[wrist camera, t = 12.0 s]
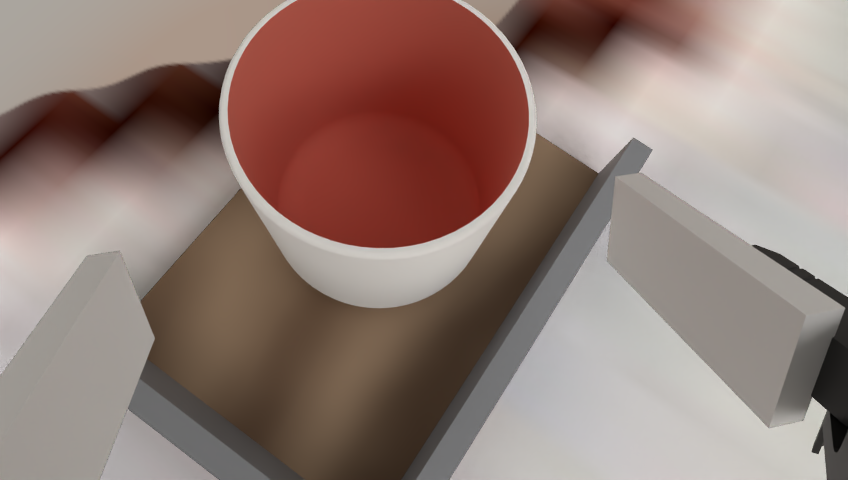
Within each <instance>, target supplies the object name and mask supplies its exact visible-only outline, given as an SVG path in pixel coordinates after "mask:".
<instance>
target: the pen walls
mask: <svg viewBox="0 0 848 480" xmlns="http://www.w3.org/2000/svg"><path fill="white" fill-rule="evenodd" d="M651 152H652V149H651V148H649V147H647V146H646V145H644V144H643V143H641V142H640V141H638V140H637V139H635V138H633V139H632V140H631V141H630V142H629V143H628V144H627V145H626V146H625V147H624V148H623V149H622V150H621V151H620V152H619V153H618V154H617V155H616V156H615V157H614V158H613V159H612V160H611V161H610V162H609V163H608V164H607V165H606V166H605V167H604V169H603V170H602V171H601V172H600V173H599V174H598V175H597V177H596V178H595V180H594V181H593V183H592V185H591V186H590V188H589V189H588V191H587V192H586V194H585V195H584V197H583V199H582V200H581V202H580V203H579V205H578V206H577V208H576V209H575V211H574V212H573V214H572V216H571V217H570V219H569V220H568V222H567V223H566V225H565V226H564V228H563V230H562V231H561V233H560V234H559V236H558V237H557V239H556V240H555V242H554V244H553V245H552V247H551V248H550V250H549V251H548V253H547V254H546V256H545V257H544V259H543V261H542V262H541V264H540V265H539V267H538V268H537V270H536V271H535V273H534V275H533V276H532V278H531V279H530V281H529V282H528V284H527V285H526V287H525V289H524V290H523V292H522V293H521V295H520V296H519V298H518V299H517V301H516V302H515V304H514V306H513V307H512V309H511V310H510V312H509V313H508V315H507V316H506V318H505V320H504V321H503V323H502V324H501V326H500V327H499V329H498V330H497V332H496V334H495V335H494V337H493V338H492V340H491V341H490V343H489V344H488V346H487V347H486V349H485V351H484V352H483V354H482V355H481V357H480V358H479V360H478V361H477V363H476V365H475V366H474V368H473V369H472V371H471V372H470V374H469V375H468V377H467V379H466V380H465V382H464V383H463V385H462V386H461V388H460V389H459V391H458V392H457V394H456V396H455V397H454V399H453V400H452V402H451V403H450V405H449V406H448V408H447V410H446V411H445V413H444V414H443V416H442V417H441V419H440V420H439V422H438V424H437V425H436V427H435V428H434V430H433V431H432V433H431V434H430V436H429V437H428V439H427V441H426V442H425V444H424V445H423V447H422V448H421V450H420V451H419V453H418V455H417V456H416V458H415V459H414V461H413V462H412V464H411V465H410V467H409V469H408V470H407V472H406V473H405V475H404V476H403V478H402V479H401V480H449V479H450V478H451V476H452V475H453V473H454V471H455V470H456V468H457V467H458V465H459V463H460V462H461V460H462V458H463V457H464V455H465V454H466V452H467V450H468V449H469V447H470V445H471V444H472V442H473V441H474V439H475V437H476V436H477V434H478V432H479V431H480V429H481V428H482V426H483V424H484V423H485V421H486V419H487V418H488V416H489V415H490V413H491V411H492V410H493V408H494V406H495V405H496V403H497V402H498V400H499V398H500V397H501V395H502V393H503V392H504V390H505V389H506V387H507V385H508V384H509V382H510V381H511V379H512V377H513V376H514V374H515V372H516V371H517V369H518V368H519V366H520V364H521V363H522V361H523V359H524V358H525V356H526V355H527V353H528V351H529V350H530V348H531V346H532V345H533V343H534V342H535V340H536V338H537V337H538V335H539V333H540V332H541V330H542V329H543V327H544V325H545V324H546V322H547V320H548V319H549V317H550V316H551V314H552V312H553V311H554V309H555V308H556V306H557V304H558V303H559V301H560V299H561V298H562V296H563V295H564V293H565V291H566V290H567V288H568V286H569V285H570V283H571V282H572V280H573V278H574V277H575V275H576V273H577V272H578V270H579V269H580V267H581V265H582V264H583V262H584V260H585V259H586V257H587V256H588V254H589V252H590V251H591V249H592V247H593V246H594V244H595V243H596V241H597V239H598V238H599V236H600V235H601V233H602V231H603V230H604V228H605V226H606V225H607V223H608V222H609V220H610V218H611V214H612V205H613V195H614V185H615V176H622V175H628V174H635V173H639V171H640V170H641V168H642V166H643V165H644V163H645V162H646V160H647V158H648V157H649V155H650V153H651ZM128 409H129V410H130V411H131V412H133V413H134V414H135V415H136V416H138V417H139V418H140V419H142V420H143V421H144V422H145V423H147V424H148V425H149V426H151V427H152V428H153V429H154V430H156V431H157V432H158V433H160V434H161V435H162V436H163V437H165V438H166V439H167V440H169V441H170V442H171V443H172V444H174V445H175V446H176V447H178V448H179V449H180V450H181V451H183V452H184V453H185V454H187V455H188V456H189V457H190V458H192V459H193V460H194V461H196V462H197V463H198V464H199V465H201V466H202V467H203V468H205V469H206V470H207V471H208V472H210V473H211V474H212V475H214V476H215V477H216V478H217V479H219V480H305V479H304V478H302V477H301V476H300V475H298V474H297V473H296V472H294V471H293V470H292V469H291V468H289V467H288V466H287V465H285V464H284V463H283V462H281V461H280V460H279V459H277V458H276V457H275V456H274V455H272V454H271V453H270V452H268V451H267V450H266V449H264V448H263V447H262V446H260V445H259V444H258V443H256V442H255V441H254V440H253V439H251V438H250V437H249V436H247V435H246V434H245V433H243V432H242V431H241V430H239V429H238V428H237V427H236V426H234V425H233V424H232V423H230V422H229V421H228V420H226V419H225V418H224V417H222V416H221V415H220V414H218V413H217V412H216V411H215V410H213V409H212V408H211V407H209V406H208V405H207V404H205V403H204V402H203V401H201V400H200V399H199V398H197V397H196V396H195V395H194V394H192V393H191V392H190V391H188V390H187V389H186V388H184V387H183V386H182V385H180V384H179V383H178V382H177V381H175V380H174V379H173V378H171V377H170V376H169V375H167V374H166V373H165V372H163V371H162V370H161V369H159V368H158V367H157V366H156V365H154V364H153V363H152V362H150V361H149V360H148V359H147V360H146V363H145V365H144V368H143V370H142V373H141V375H140V378H139V380H138V383H137V386H136V388H135V391H134V393H133V396H132V398H131V401H130V403H129V406H128Z"/></svg>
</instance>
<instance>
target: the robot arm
mask: <svg viewBox="0 0 848 480" xmlns="http://www.w3.org/2000/svg"><path fill="white" fill-rule="evenodd" d="M607 262H608V263H609V264H610V265H611V266H612V267H613V268H614V269H615V270H616V271H617V272H618V273H619V274H620V275H621V276H622V277H623V278H624V279H625V280H626V281H627V282H628V283H629V284H630V285H631V287H632V288H633V289H634V290H635V291H636V292H637V293H638V294H639V295H640V296H641V297H642V298H643V299H644V300H645V301H646V302H647V303H648V304H649V305H650V306H651V307H652V308H653V309H654V310H655V311H656V312H657V313H658V314H659V315H660V316H661V317H662V318H663V319H664V321H665V322H666V323H667V324H668V325H669V326H670V327H671V328H672V329H673V330H674V331H675V332H676V333H677V334H678V335H679V336H680V337H681V338H682V339H683V340H684V341H685V342H686V343H687V344H688V345H689V346H690V347H691V348H692V349H693V350H694V351H695V352H696V354H697V355H698V356H699V357H700V358H701V359H702V360H703V361H704V362H705V363H706V364H707V365H708V366H709V367H710V368H711V369H712V370H713V371H714V372H715V373H716V374H717V375H718V376H719V377H720V378H721V379H722V380H723V381H724V382H725V383H726V384H727V385H728V387H729V388H730V389H731V390H732V391H733V392H734V393H735V394H736V395H737V396H738V397H739V398H740V399H741V400H742V401H743V402H744V403H745V404H746V405H747V406H748V407H749V408H750V409H751V410H752V411H753V412H754V413H755V414H756V415H757V416H758V417H759V418H760V419H761V421H762V422H763V423H764V424H765V425H766V426H767V427H768V428H772V427H776V426H781V425H785V424H790V423H794V422H799V421H803V420H804V418H805V415H806V412H807V410H808V407H809V404H810V401H811V399H812V397H813V398H814V399H815V400H816V401H817V402H819V403H820V404H821V405H822V406H823V407H824V408H825V409H827V412H826V415H825V417H824V420H823V422H822V425H821V427H820V430H819V432H818V435H817V437H816V440H815V442H814V445H813V449H812V452H813V453H816V454H819V451H820V449H821V446H824V450H825V462H826V474H827V480H848V297H846V296H845V295H843V294H842V293H840V292H839V291H837V290H835V289H834V288H832V287H831V286H829V285H828V284H826V283H824V282H823V281H821V280H820V279H815V276H814V275H812V274H810V273H809V272H807V271H806V270H804V269H799V266H798V265H796V264H795V263H793V262H792V261H790V260H788V259H787V258H785V257H784V256H782V255H781V254H778V253H776V252H773V251H771V250H768V249H765V248H763V247H760V246H757V245H752V246H751V245H750V244H748V243H747V242H745V241H744V240H742V239H741V238H739V237H738V236H736V235H734V234H733V233H731V232H730V231H728V230H727V229H725V228H724V227H722V226H721V225H719V224H718V223H716V222H715V221H713V220H712V219H710V218H709V217H707V216H706V215H704V214H703V213H701V212H700V211H698V210H697V209H695V208H694V207H692V206H691V205H689V204H688V203H686V202H685V201H683V200H682V199H680V198H679V197H677V196H676V195H674V194H673V193H671V192H669V191H668V190H666V189H665V188H663V187H662V186H660V185H659V184H657V183H656V182H654V181H653V180H651V179H650V178H648V177H647V176H645V175H644V174H642V173H635V174H628V175H622V176H615V185H614V195H613V205H612V214H611V224H610V233H609V243H608V253H607ZM154 340H155V337H154V335H153V332H152V330H151V327H150V325H149V322H148V320H147V317H146V315H145V312H144V310H143V307H142V305H141V302H140V300H139V297H138V295H137V292H136V290H135V287H134V285H133V282H132V280H131V277H130V275H129V272H128V270H127V267H126V265H125V262H124V260H123V257H122V255H121V252H120V251H115V252H109V253H102V254H95V255H89V256H86V258H85V259H84V261H83V262H82V263H81V265H80V266H79V268H78V269H77V270H76V272H75V273H74V274H73V276H72V277H71V279H70V280H69V281H68V283H67V284H66V286H65V287H64V288H63V290H62V291H61V293H60V294H59V295H58V297H57V298H56V299H55V301H54V302H53V304H52V305H51V306H50V308H49V309H48V311H47V312H46V313H45V315H44V316H43V317H42V319H41V320H40V322H39V323H38V324H37V326H36V327H35V329H34V330H33V331H32V333H31V334H30V336H29V337H28V338H27V340H26V341H25V342H24V344H23V345H22V347H21V348H20V349H19V351H18V352H17V354H16V355H15V356H14V358H13V359H12V361H11V362H10V363H9V365H8V366H7V367H6V369H5V370H4V372H3V373H2V374H1V376H0V480H100V478H101V475H102V473H103V470H104V467H105V465H106V462H107V460H108V457H109V455H110V452H111V450H112V447H113V444H114V442H115V439H116V437H117V434H118V432H119V429H120V427H121V424H122V421H123V419H124V416H125V414H126V411H127V409H128V406H129V403H130V401H131V398H132V396H133V393H134V391H135V388H136V386H137V383H138V380H139V378H140V375H141V373H142V370H143V368H144V365H145V363H146V360H147V357H148V355H149V352H150V350H151V347H152V345H153V342H154Z"/></svg>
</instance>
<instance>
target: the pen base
mask: <svg viewBox="0 0 848 480" xmlns="http://www.w3.org/2000/svg"><path fill="white" fill-rule="evenodd" d="M597 175H598V173H597V172H595V171H594V170H592V169H591V168H589V167H588V166H586V165H585V164H583V163H582V162H580V161H578V160H577V159H575V158H574V157H572V156H571V155H569V154H568V153H566V152H565V151H563V150H562V149H560V148H559V147H557V146H555V145H554V144H552V143H551V142H549V141H548V140H546V139H545V138H543V137H542V136H540V135H539V134H537V133H536V140H535V145H534V150H533V154H532V157H531V161H530V164H529V167H528V169H527V172H526V174H525V176H524V178H523V180H522V182H521V184H520V186H519V187H518V189H517V191H516V192H515V194H514V195H513V197H512V198H511V200H510V201H509V203H508V204H507V206H506V207H505V209H504V210H503V212H502V213H501V215H500V216H499V218H498V219H497V221H496V222H495V224H494V225H493V227H492V228H491V230H490V231H489V233H488V234H487V236H486V237H485V239H484V240H483V242H482V243H481V245H480V247H479V248H478V250H477V251H476V253H475V254H474V256H473V257H472V259H471V260H470V261H469V263H468V264H467V266H466V267H465V268H464V269H463V271H462V272H461V273H460V274H459V275H458V276H457V277H456V278H455V279H454V280H453V281H452V282H451V283H449V284H448V285H447V286H445V287H444V288H443V289H441V290H440V291H438V292H436V293H435V294H433V295H431V296H429V297H427V298H425V299H422V300H420V301H417V302H415V303H411V304H408V305H404V306H399V307H392V308H366V307H359V306H354V305H350V304H346V303H343V302H341V301H338V300H335V299H333V298H331V297H329V296H327V295H325V294H323V293H321V292H320V291H318V290H317V289H315V288H313V287H312V286H311V285H310V284H308V283H307V282H306V281H305V280H303V279H302V278H301V277H300V276H299V275H298V274H297V272H296V271H295V270H294V269H293V268H292V267H291V265H290V264H289V263H288V261H287V260H286V258H285V257H284V255H283V254H282V252H281V250H280V249H279V247H278V246H277V244H276V242H275V241H274V239H273V238H272V236H271V234H270V233H269V231H268V230H267V228H266V227H265V225H264V223H263V222H262V220H261V219H260V217H259V215H258V214H257V212H256V211H255V209H254V207H253V206H252V204H251V203H250V201H249V199H248V198H247V196H246V195H245V193H244V191H243V190H242V188H241V189H240V190H239V191H238V192H237V193H236V195H235V196H234V197H233V198H232V199H231V200H230V201H229V202H228V204H227V205H226V206H225V207H224V208H223V209H222V210H221V211H220V213H219V214H218V215H217V216H216V217H215V218H214V219H213V220H212V222H211V223H210V224H209V225H208V226H207V227H206V228H205V229H204V231H203V232H202V233H201V234H200V235H199V236H198V237H197V238H196V239H195V241H194V242H193V243H192V244H191V245H190V246H189V247H188V248H187V250H186V251H185V252H184V253H183V254H182V255H181V256H180V257H179V259H178V260H177V261H176V262H175V263H174V264H173V265H172V266H171V268H170V269H169V270H168V271H167V272H166V273H165V274H164V275H163V277H162V278H161V279H160V280H159V281H158V282H157V283H156V284H155V286H154V287H153V288H152V289H151V290H150V291H149V292H148V293H147V295H146V296H145V297H144V298H143V299H142V300H141V301H140V302H141V305H142V307H143V310H144V312H145V315H146V317H147V320H148V322H149V325H150V327H151V330H152V332H153V335H154V337H155V340H154V342H153V345H152V347H151V350H150V352H149V355H148V357H147V359H148V360H149V361H150V362H152V363H153V364H154V365H156V366H157V367H158V368H159V369H161V370H162V371H163V372H165V373H166V374H167V375H169V376H170V377H171V378H173V379H174V380H175V381H177V382H178V383H179V384H180V385H182V386H183V387H184V388H186V389H187V390H188V391H190V392H191V393H192V394H194V395H195V396H196V397H197V398H199V399H200V400H201V401H203V402H204V403H205V404H207V405H208V406H209V407H211V408H212V409H213V410H215V411H216V412H217V413H218V414H220V415H221V416H222V417H224V418H225V419H226V420H228V421H229V422H230V423H232V424H233V425H234V426H236V427H237V428H238V429H239V430H241V431H242V432H243V433H245V434H246V435H247V436H249V437H250V438H251V439H253V440H254V441H255V442H256V443H258V444H259V445H260V446H262V447H263V448H264V449H266V450H267V451H268V452H270V453H271V454H272V455H274V456H275V457H276V458H277V459H279V460H280V461H281V462H283V463H284V464H285V465H287V466H288V467H289V468H291V469H292V470H293V471H294V472H296V473H297V474H298V475H300V476H301V477H302V478H304V479H305V480H401V479H402V478H403V476H404V475H405V473H406V472H407V470H408V469H409V467H410V465H411V464H412V462H413V461H414V459H415V458H416V456H417V455H418V453H419V451H420V450H421V448H422V447H423V445H424V444H425V442H426V441H427V439H428V437H429V436H430V434H431V433H432V431H433V430H434V428H435V427H436V425H437V424H438V422H439V420H440V419H441V417H442V416H443V414H444V413H445V411H446V410H447V408H448V406H449V405H450V403H451V402H452V400H453V399H454V397H455V396H456V394H457V392H458V391H459V389H460V388H461V386H462V385H463V383H464V382H465V380H466V379H467V377H468V375H469V374H470V372H471V371H472V369H473V368H474V366H475V365H476V363H477V361H478V360H479V358H480V357H481V355H482V354H483V352H484V351H485V349H486V347H487V346H488V344H489V343H490V341H491V340H492V338H493V337H494V335H495V334H496V332H497V330H498V329H499V327H500V326H501V324H502V323H503V321H504V320H505V318H506V316H507V315H508V313H509V312H510V310H511V309H512V307H513V306H514V304H515V302H516V301H517V299H518V298H519V296H520V295H521V293H522V292H523V290H524V289H525V287H526V285H527V284H528V282H529V281H530V279H531V278H532V276H533V275H534V273H535V271H536V270H537V268H538V267H539V265H540V264H541V262H542V261H543V259H544V257H545V256H546V254H547V253H548V251H549V250H550V248H551V247H552V245H553V244H554V242H555V240H556V239H557V237H558V236H559V234H560V233H561V231H562V230H563V228H564V226H565V225H566V223H567V222H568V220H569V219H570V217H571V216H572V214H573V212H574V211H575V209H576V208H577V206H578V205H579V203H580V202H581V200H582V199H583V197H584V195H585V194H586V192H587V191H588V189H589V188H590V186H591V185H592V183H593V181H594V180H595V178H596V177H597Z"/></svg>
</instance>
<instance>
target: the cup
mask: <svg viewBox="0 0 848 480" xmlns="http://www.w3.org/2000/svg"><path fill="white" fill-rule="evenodd" d="M219 126H220V134H221V140H222V144H223V148H224V152H225V155H226V158H227V161H228V163H229V165H230V168H231V170H232V172H233V174H234V176H235V178H236V180H237V181H238V183H239V185H240V187H241V188H242V190H243V191H244V193H245V195H246V196H247V198H248V199H249V201H250V203H251V204H252V206H253V207H254V209H255V211H256V212H257V214H258V215H259V217H260V219H261V220H262V222H263V223H264V225H265V227H266V228H267V230H268V231H269V233H270V234H271V236H272V238H273V239H274V241H275V242H276V244H277V246H278V247H279V249H280V250H281V252H282V254H283V255H284V257H285V258H286V260H287V261H288V263H289V264H290V265H291V267H292V268H293V269H294V270H295V271H296V272H297V274H298V275H299V276H300V277H301V278H302V279H303V280H305V281H306V282H307V283H308V284H310V285H311V286H312V287H313V288H315V289H317V290H318V291H320V292H321V293H323V294H325V295H327V296H329V297H331V298H333V299H335V300H338V301H341V302H343V303H346V304H350V305H354V306H359V307H366V308H392V307H399V306H404V305H408V304H411V303H415V302H417V301H420V300H422V299H425V298H427V297H429V296H431V295H433V294H435V293H436V292H438V291H440V290H441V289H443V288H444V287H445V286H447V285H448V284H449V283H451V282H452V281H453V280H454V279H455V278H456V277H457V276H458V275H459V274H460V273H461V272H462V271H463V269H464V268H465V267H466V266H467V264H468V263H469V261H470V260H471V259H472V257H473V256H474V254H475V253H476V251H477V250H478V248H479V247H480V245H481V243H482V242H483V240H484V239H485V237H486V236H487V234H488V233H489V231H490V230H491V228H492V227H493V225H494V224H495V222H496V221H497V219H498V218H499V216H500V215H501V213H502V212H503V210H504V209H505V207H506V206H507V204H508V203H509V201H510V200H511V198H512V197H513V195H514V194H515V192H516V191H517V189H518V187H519V186H520V184H521V182H522V180H523V178H524V176H525V174H526V172H527V169H528V167H529V164H530V161H531V157H532V154H533V150H534V145H535V140H536V127H537V118H536V105H535V99H534V93H533V90H532V86H531V83H530V80H529V77H528V74H527V72H526V70H525V67H524V65H523V63H522V61H521V59H520V58H519V56H518V54H517V52H516V51H515V49H514V48H513V46H512V45H511V44H510V42H509V41H508V39H507V38H506V37H505V35H504V34H503V33H502V32H501V31H500V30H499V29H498V28H497V27H496V26H495V25H494V24H493V23H492V22H491V21H490V20H489V19H487V18H486V17H485V16H484V15H483V14H482V13H481V12H479V11H478V10H476V9H475V8H473V7H472V6H471V5H469V4H468V3H466V2H464V1H463V0H286V1H285V2H283V3H282V4H280V5H278V6H277V7H276V8H274V9H273V10H272V11H270V12H269V13H268V14H267V15H266V16H264V17H263V18H262V19H261V20H260V21H259V22H258V23H257V24H256V25H255V26H254V27H253V28H252V29H251V31H250V32H249V33H248V34H247V36H246V37H245V38H244V39H243V41H242V43H241V44H240V46H239V48H238V49H237V51H236V53H235V54H234V56H233V58H232V60H231V62H230V64H229V67H228V69H227V72H226V74H225V78H224V82H223V85H222V89H221V96H220V103H219Z"/></svg>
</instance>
